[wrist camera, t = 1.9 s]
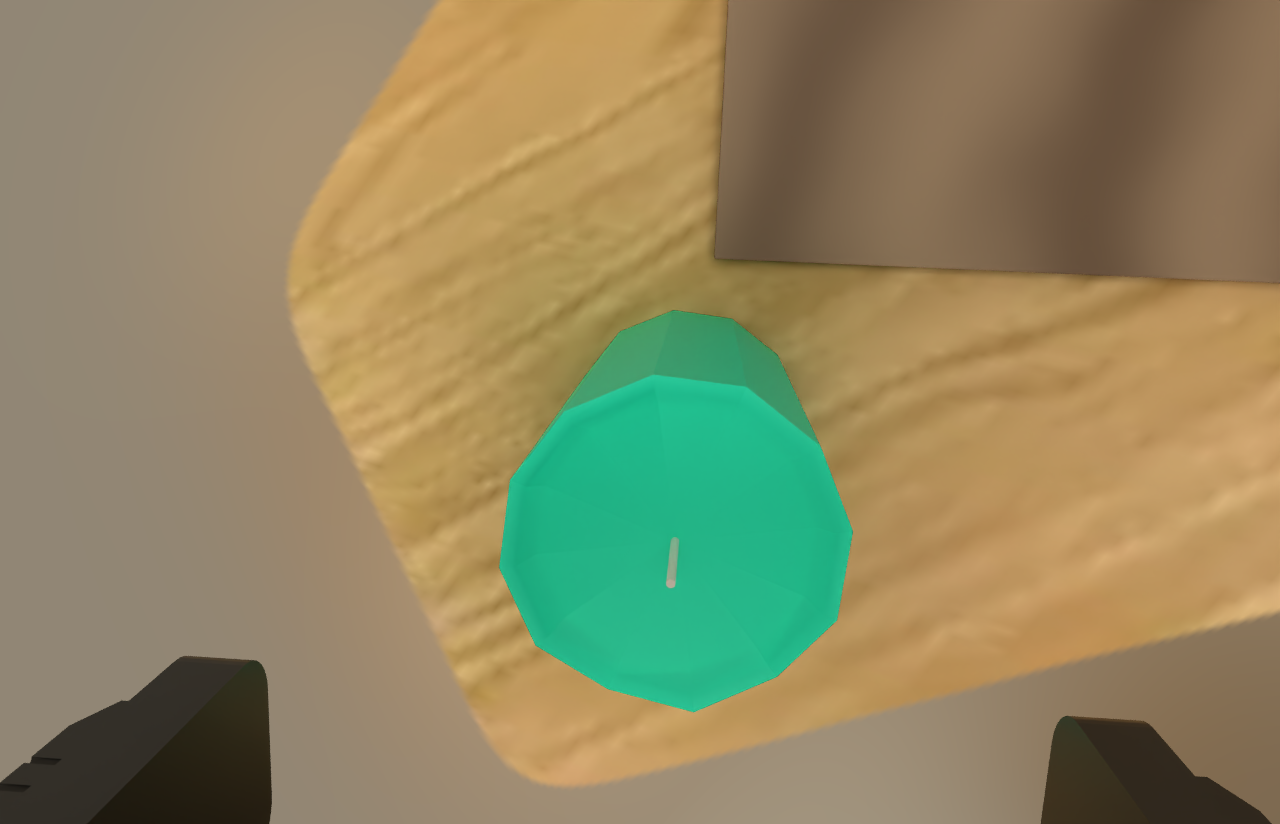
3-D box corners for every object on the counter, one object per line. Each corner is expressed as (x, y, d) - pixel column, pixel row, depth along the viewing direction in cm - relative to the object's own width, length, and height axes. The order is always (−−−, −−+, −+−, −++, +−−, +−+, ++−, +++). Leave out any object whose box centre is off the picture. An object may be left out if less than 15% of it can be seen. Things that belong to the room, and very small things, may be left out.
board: (1590, -53, 23) (1629, -64, 22) (1516, 291, 25) (1548, 294, 24) (732, -74, 25) (733, -86, 24) (714, 256, 26) (714, 258, 25)
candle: (532, 396, 27) (400, 540, 16) (710, 263, 26) (713, 310, 14) (663, 566, 28) (632, 827, 16) (842, 443, 27) (946, 627, 15)
